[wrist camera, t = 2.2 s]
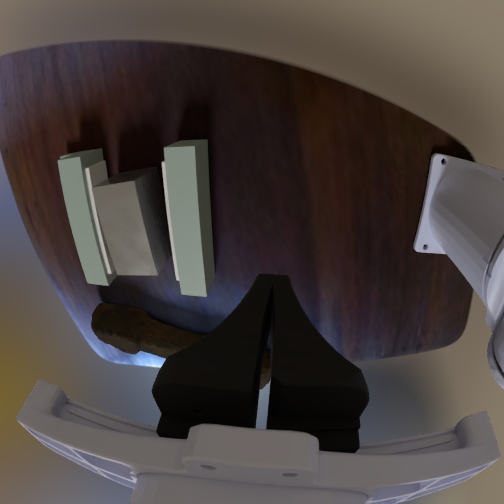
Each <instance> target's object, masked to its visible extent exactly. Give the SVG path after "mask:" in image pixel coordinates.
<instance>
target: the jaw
mask: <svg viewBox="0 0 504 504" xmlns="http://www.w3.org/2000/svg"><path fill="white" fill-rule="evenodd" d="M164 157H165V161H163V162H162V171H163V182H164V192H165V201H166V210H167V218H168V226H169V233H170V241H171V248H172V254H173V261H174V267H175V273H176V279H177V280H178V281H180V287H181V293H182V295H193V296H204V297H207V295H208V292H209V290H210V287H211V284H212V282H213V279H214V276H215V266H214V253H213V239H212V223H211V206H210V188H209V166H208V140H183V141H178V142H176V143H173V144H171V145H169V146H167V147H164Z"/></svg>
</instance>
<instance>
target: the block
mask: <svg viewBox="0 0 504 504" xmlns="http://www.w3.org/2000/svg"><path fill="white" fill-rule="evenodd" d="M92 192H93V196H94V200H95V204H96V208H97V212H98V215H99V219H100V222H101V226H102V229H103V233H104V236H105V239H106V242H107V245H108V249H109V252H110V255H111V258H112V261H113V264H114V266H115V269H116V272H117V275H158V274H159V273H160V271H161V270H162V268H163V267H164V265H165V264H166V262H167V261H168V259H169V258H170V256H171V255H172V248H171V241H170V233H169V226H168V218H167V211H166V206H165V201H164V196H163V191H162V186H161V181H160V175H159V170H158V166H157V167H151V168H144V169H138V170H132V171H126V172H120V173H117V174H115V175H114V176H112V177H110V178H108V179H106V180H104V181H103V182H101V183H99V184H97V185H96V186H94V187H92Z"/></svg>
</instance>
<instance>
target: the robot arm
mask: <svg viewBox="0 0 504 504" xmlns="http://www.w3.org/2000/svg"><path fill="white" fill-rule="evenodd" d="M443 158H444V163H443V164H442V163H441V160H442V159H443ZM503 176H504V171H502V170H499V169H496V168H493V167H489V166H486V165H482V164H478V163H475V162H472V161H468V160H464V159H460V158H456V157H452V156H448V155H444V154H439V153H435V154H433V155H432V157H431V163H430V170H429V176H428V182H427V187H426V193H425V198H424V203H423V207H422V212H421V217H420V221H419V225H418V229H417V233H416V237H415V241H414V249H415V250H416V251H417V252H426V253H441V254H447V255H448V256H449V257H450V259H451V260H452V261H453V262H454V264H455V265H456V266H457V267H458V269H459V270H460V271H461V273H462V274H463V275H464V276H465V278H466V279H467V280H468V282H469V283H470V284H471V286H472V287H473V289H474V290H475V291H476V293H477V294H478V296H479V297H480V298H481V300H482V301H483V303H484V304H485V306H486V307H487V317H486V319H485V321H486V322H487V324H488V325H489V327H490V329H491V330H492V332H493V334H492V336H491V338H490V341H489V344H488V349H487V357H488V363H489V366H490V370H491V372H492V374H493V376H494V378H495V379H496V381H497V382H498V384H499V385H500V386H501V387H502V388H503V389H504V178H503ZM425 244H426V246H425V247H424V248H423V246H424V245H425ZM269 332H270V343H271V383H270V394H269V405H268V416H267V426H266V429H255V428H256V418H257V409H258V399H259V390H260V380H261V372H262V366H263V362H264V357H265V352H266V347H267V342H268V337H269ZM152 394H153V397H154V399H155V401H156V403H157V405H158V407H159V409H160V411H161V413H162V414H161V417H160V420H159V423H158V427H154V426H150V425H146V424H142V423H139V422H135V421H132V420H128V419H125V418H122V417H118V416H115V415H112V414H109V413H106V412H103V411H100V410H97V409H94V408H92V407H89V406H86V405H84V404H81V403H79V402H76V401H74V400H71V399H69V398H67V396H66V394H65V393H64V391H62V389H61V388H59V387H58V386H56V385H54V384H52V383H49V382H47V381H45V380H43V379H39V380H38V382H37V383H36V385H35V387H34V388H33V390H32V391H31V393H30V395H29V396H28V398H27V400H26V402H25V403H24V405H23V407H22V408H21V410H20V412H19V413H18V415H17V417H16V420H17V421H18V422H19V423H20V424H21V425H22V426H23V427H24V428H25V429H27V430H28V431H29V432H30V433H31V434H32V435H33V436H34V437H35V438H37V439H38V440H39V441H40V442H41V443H42V444H44V445H45V446H46V447H48V448H50V449H51V450H53V451H55V452H57V453H59V454H60V455H62V456H64V457H66V458H68V459H70V460H72V461H74V462H75V463H78V464H79V465H81V466H83V467H85V468H87V469H89V470H91V471H93V472H96V473H98V474H100V475H102V476H104V477H106V478H108V479H111V480H113V481H116V482H118V483H120V484H123V485H125V486H128V487H131V488H133V489H134V490H133V493H132V496H131V500H130V503H129V504H395V503H399V502H403V501H407V500H410V499H414V498H417V497H420V496H424V495H427V494H429V493H433V492H436V491H439V490H442V489H444V488H447V487H450V486H453V485H455V484H458V483H461V482H463V481H466V480H468V479H469V478H471V477H473V476H474V475H476V474H477V473H479V472H480V471H482V470H484V469H485V468H486V467H488V466H489V465H491V464H492V463H494V462H495V461H496V460H498V459H499V458H500V457H501V455H500V451H499V447H498V444H497V440H496V437H495V434H494V431H493V428H492V425H491V422H490V419H489V416H488V413H487V411H482V412H479V413H476V414H472V415H469V416H466V417H465V418H463V419H462V420H461V421H460V422H459V423H458V424H457V425H456V426H455V427H453V428H449V429H445V430H440V431H436V432H431V433H427V434H422V435H416V436H411V437H405V438H399V439H392V440H384V441H376V442H367V443H359V433H358V429H359V428H360V419H359V417H360V416H361V414H362V413H363V411H364V409H365V408H366V406H367V404H368V402H369V392H368V387H367V384H366V381H365V378H364V376H363V373H362V371H361V369H359V368H358V367H357V366H355V365H354V364H352V363H351V362H350V361H348V360H347V359H345V358H344V357H343V356H342V355H340V354H339V353H338V352H337V351H336V350H335V349H334V348H333V347H332V346H331V345H330V344H329V343H328V342H327V341H326V340H325V339H324V338H323V337H322V335H321V334H320V333H319V332H318V331H317V329H316V328H315V327H314V325H313V324H312V323H311V321H310V320H309V318H308V317H307V315H306V313H305V312H304V310H303V308H302V307H301V305H300V303H299V301H298V299H297V297H296V295H295V293H294V290H293V288H292V285H291V282H290V278H289V277H288V276H287V275H273V274H259V275H258V276H257V277H256V280H255V282H254V283H253V285H252V287H251V288H250V290H249V291H248V293H247V294H246V295H245V297H244V298H243V300H242V301H241V302H240V303H239V304H238V306H237V307H236V308H235V309H234V310H233V312H232V313H231V314H230V315H229V316H228V317H227V318H226V319H225V320H224V321H223V322H222V323H220V324H219V325H218V326H217V327H216V328H215V329H213V330H212V331H211V332H210V333H208V334H207V335H206V336H204V337H203V338H201V339H200V340H198V341H197V342H195V343H193V344H192V345H190V346H188V347H187V348H185V349H183V350H181V351H179V352H176V353H174V354H172V355H170V356H168V357H167V359H166V360H165V362H164V364H163V365H162V367H161V369H160V370H159V372H158V375H157V377H156V380H155V382H154V385H153V388H152Z"/></svg>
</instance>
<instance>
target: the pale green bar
mask: <svg viewBox="0 0 504 504" xmlns="http://www.w3.org/2000/svg"><path fill="white" fill-rule="evenodd" d="M58 166H59V172H60V178H61V183H62V189H63V194H64V199H65V203H66V208H67V212H68V217H69V221H70V225H71V229H72V233H73V237H74V240H75V244H76V247H77V251H78V254H79V258H80V261H81V264H82V267H83V270H84V274H85V277H86V280H87V283H91V284H98V285H105V286H109V285H110V284H111V282H112V281H113V280H114V279H115V277H116V276H117V272H116V269H115V266H114V264H113V261H112V258H111V255H110V252H109V249H108V245H107V242H106V239H105V236H104V233H103V229H102V226H101V222H100V219H99V215H98V212H97V208H96V204H95V200H94V196H93V192H92V187H94V186H96V185H97V184H99V183H101V182H103V181H104V180H106V179H108V176H107V169H106V161H104V160H103V151H102V148H100V149H93V150H87V151H80V152H74V153H69V154H65V155H63V156H60V160H58Z"/></svg>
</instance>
